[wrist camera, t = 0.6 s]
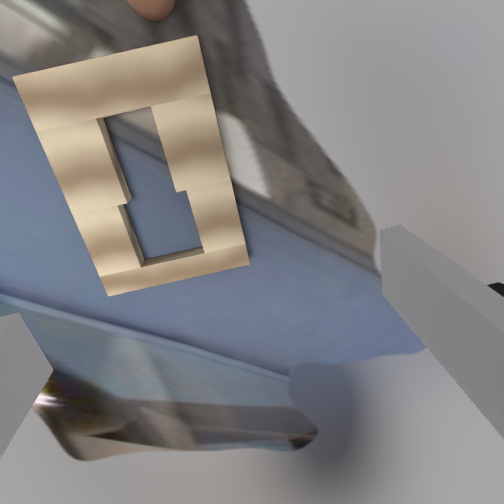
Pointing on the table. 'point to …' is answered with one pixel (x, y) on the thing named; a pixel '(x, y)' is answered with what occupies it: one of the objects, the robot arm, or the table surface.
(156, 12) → the peg
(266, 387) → the table surface
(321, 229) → the table surface
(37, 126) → the keyhole board
